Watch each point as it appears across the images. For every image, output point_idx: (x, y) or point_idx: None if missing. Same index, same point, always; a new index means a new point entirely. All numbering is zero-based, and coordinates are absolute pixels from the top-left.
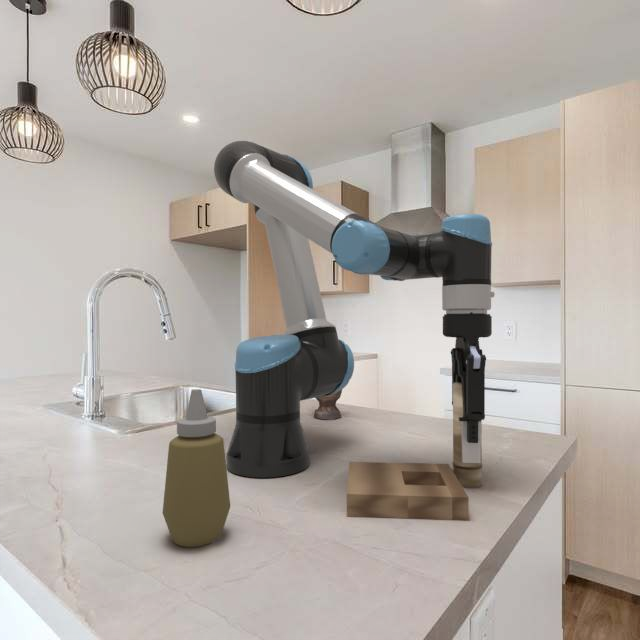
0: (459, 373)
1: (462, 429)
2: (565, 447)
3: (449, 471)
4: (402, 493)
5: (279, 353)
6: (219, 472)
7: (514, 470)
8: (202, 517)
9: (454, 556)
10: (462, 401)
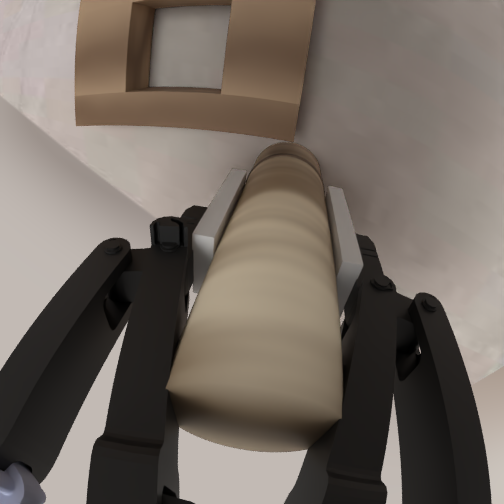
0: (98, 453)
1: (204, 214)
2: None
3: (224, 122)
4: (89, 4)
5: None
6: None
7: None
8: None
9: (24, 84)
10: (195, 305)
